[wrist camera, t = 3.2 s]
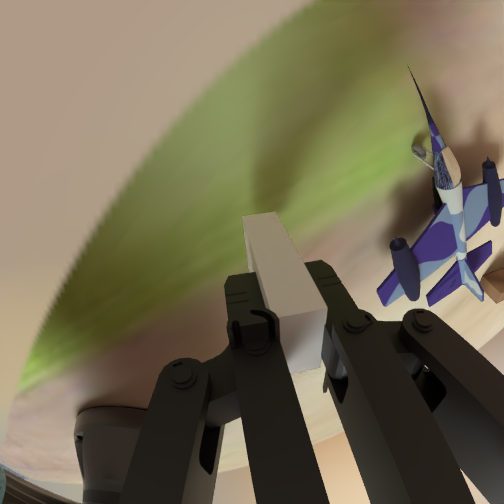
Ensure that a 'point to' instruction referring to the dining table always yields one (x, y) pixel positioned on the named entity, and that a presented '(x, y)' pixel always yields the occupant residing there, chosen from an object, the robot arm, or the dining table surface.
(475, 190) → the toy airplane
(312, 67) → the dining table surface
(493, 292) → the frame
